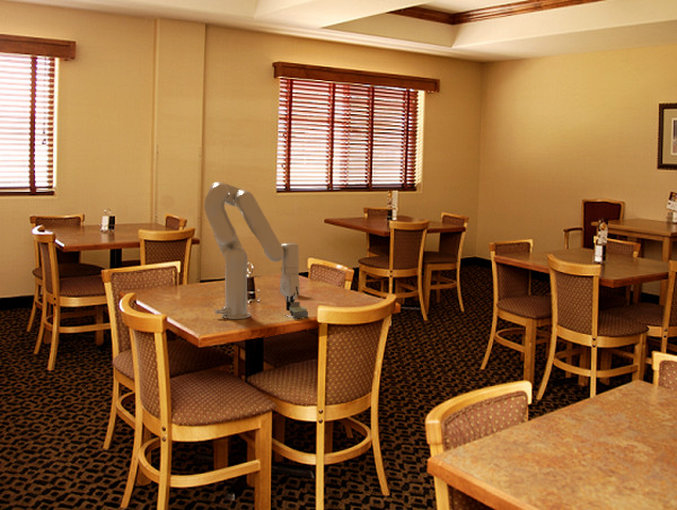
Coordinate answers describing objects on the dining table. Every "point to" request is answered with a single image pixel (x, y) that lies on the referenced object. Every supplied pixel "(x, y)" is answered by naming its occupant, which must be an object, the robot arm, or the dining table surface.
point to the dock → (299, 315)
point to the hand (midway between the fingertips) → (290, 310)
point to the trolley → (296, 308)
